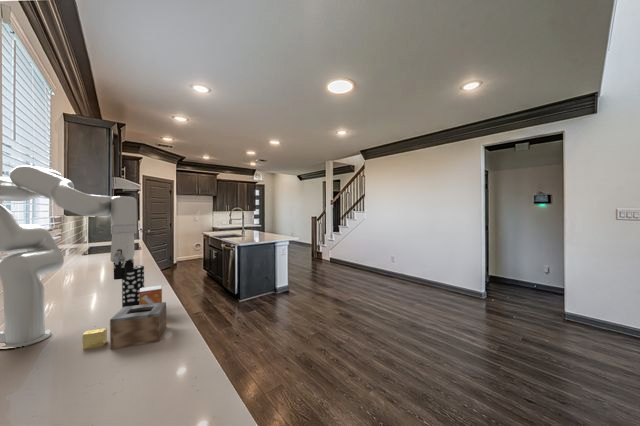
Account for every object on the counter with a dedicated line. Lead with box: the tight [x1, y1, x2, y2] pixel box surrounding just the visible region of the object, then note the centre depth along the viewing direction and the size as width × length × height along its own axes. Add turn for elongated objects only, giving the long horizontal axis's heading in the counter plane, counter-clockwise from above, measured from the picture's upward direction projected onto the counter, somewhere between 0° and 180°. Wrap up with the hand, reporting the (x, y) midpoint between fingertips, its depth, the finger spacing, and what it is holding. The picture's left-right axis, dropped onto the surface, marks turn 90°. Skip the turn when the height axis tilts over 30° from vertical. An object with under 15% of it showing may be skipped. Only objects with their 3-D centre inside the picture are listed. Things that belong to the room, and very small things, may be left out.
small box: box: [139, 285, 163, 305], centre depth 109 cm, size 8×6×13 cm
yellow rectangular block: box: [82, 327, 108, 350], centre depth 87 cm, size 6×3×5 cm, turn 111°
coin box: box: [109, 301, 167, 350], centre depth 92 cm, size 14×12×10 cm
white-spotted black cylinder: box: [121, 265, 145, 309], centre depth 117 cm, size 8×8×20 cm
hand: (124, 275), depth 93 cm, fingers open, 9 cm apart
